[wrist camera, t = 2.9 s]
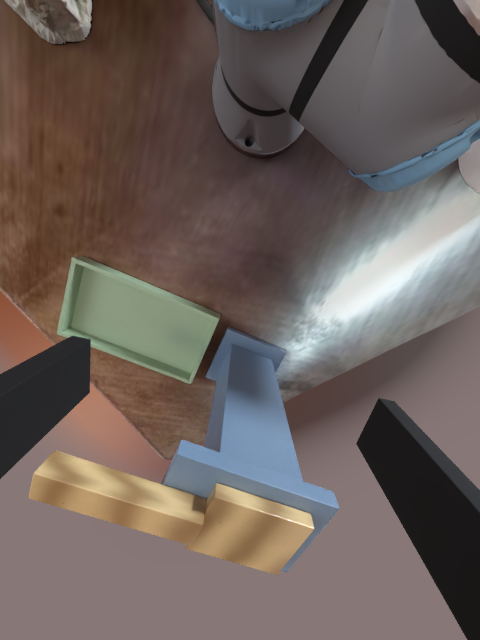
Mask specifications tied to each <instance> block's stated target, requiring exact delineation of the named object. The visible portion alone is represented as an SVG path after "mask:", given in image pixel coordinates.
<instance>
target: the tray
mask: <svg viewBox="0 0 480 640" xmlns="http://www.w3.org/2000/svg"><path fill="white" fill-rule="evenodd" d="M220 316H221V314H219V313H217V312H214V311H212V310H210V309H207V308H205V307H203V306H200V305H198V304H196V303H193V302H191V301H188V300H186V299H184V298H181V297H179V296H177V295H174V294H172V293H169V292H167V291H165V290H162V289H160V288H158V287H155V286H153V285H150V284H148V283H146V282H143V281H141V280H139V279H136V278H134V277H131V276H129V275H127V274H124V273H122V272H120V271H117V270H115V269H112V268H110V267H108V266H105V265H103V264H101V263H98V262H96V261H93V260H91V259H89V258H86V257H84V256H83V257H72V261H71V266H70V270H69V275H68V280H67V285H66V290H65V295H64V300H63V305H62V309H61V314H60V319H59V324H58V329H57V334H58V335H61V336H64V337H66V338H69V337H71V336H77V337H82V338H87V339H91V347H93V348H96V349H98V350H101V351H103V352H106V353H109V354H111V355H114V356H117V357H119V358H122V359H125V360H127V361H130V362H133V363H135V364H138V365H141V366H143V367H146V368H149V369H151V370H154V371H157V372H159V373H162V374H164V375H167V376H170V377H172V378H175V379H178V380H180V381H183V382H186V383H188V384H192V381H193V379H194V377H195V375H196V372H197V370H198V368H199V365H200V363H201V361H202V358H203V356H204V354H205V351H206V349H207V347H208V345H209V342H210V340H211V338H212V335H213V333H214V331H215V328H216V326H217V324H218V322H219V319H220Z"/></svg>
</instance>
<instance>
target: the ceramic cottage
mask: <svg viewBox="0 0 480 640" xmlns="http://www.w3.org/2000/svg"><path fill="white" fill-rule="evenodd" d="M4 1H5V2H6V3H7V4H8V5H9V6H10V7H12V8H13V10H14V11H15V12H17V13H18V14H19V15H20V17H21V18H23V20H25V22H26V23H27V24H28V25H29V26H30V27H32V29H33V30H34V31H35V32H36V33H37V34H38V35H39V36H40V37H41V38H43V39H44V40H46V41H47V42H49V43H51V44H59V45H60V44H63V43H66V41H67V42H71V41H72V42H74V41H82V40H85V38H86V37H87V35H88V33H89V31H90V28H91V23H90V21H91V18H92V17H91V11H92V0H4Z"/></svg>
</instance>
